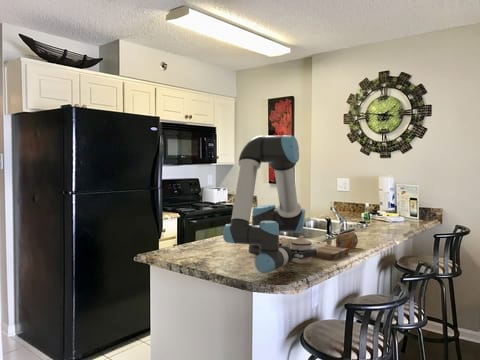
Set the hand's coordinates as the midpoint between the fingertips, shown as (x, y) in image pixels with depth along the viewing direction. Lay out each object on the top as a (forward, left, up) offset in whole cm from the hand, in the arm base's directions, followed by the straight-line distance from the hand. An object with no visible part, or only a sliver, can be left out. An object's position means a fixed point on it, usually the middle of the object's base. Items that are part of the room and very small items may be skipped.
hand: (302, 247), depth 177 cm
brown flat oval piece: (-20, +32, -7) cm, 38 cm away
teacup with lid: (-1, +1, -7) cm, 7 cm away
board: (-8, +17, -6) cm, 19 cm away
